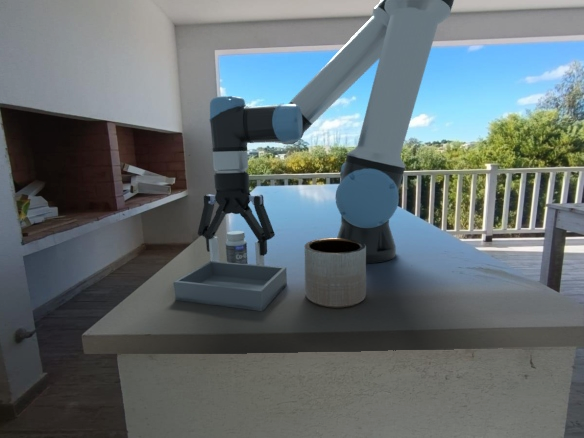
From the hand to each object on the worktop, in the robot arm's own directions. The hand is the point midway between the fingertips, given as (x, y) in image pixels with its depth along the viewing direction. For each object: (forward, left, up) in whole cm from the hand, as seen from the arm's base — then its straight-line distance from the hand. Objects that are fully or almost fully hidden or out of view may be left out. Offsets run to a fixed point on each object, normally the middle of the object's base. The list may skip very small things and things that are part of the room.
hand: (237, 266), depth 78 cm
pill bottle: (0, 0, 0) cm, 0 cm away
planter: (-25, +10, 0) cm, 27 cm away
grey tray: (-6, +13, 0) cm, 14 cm away
